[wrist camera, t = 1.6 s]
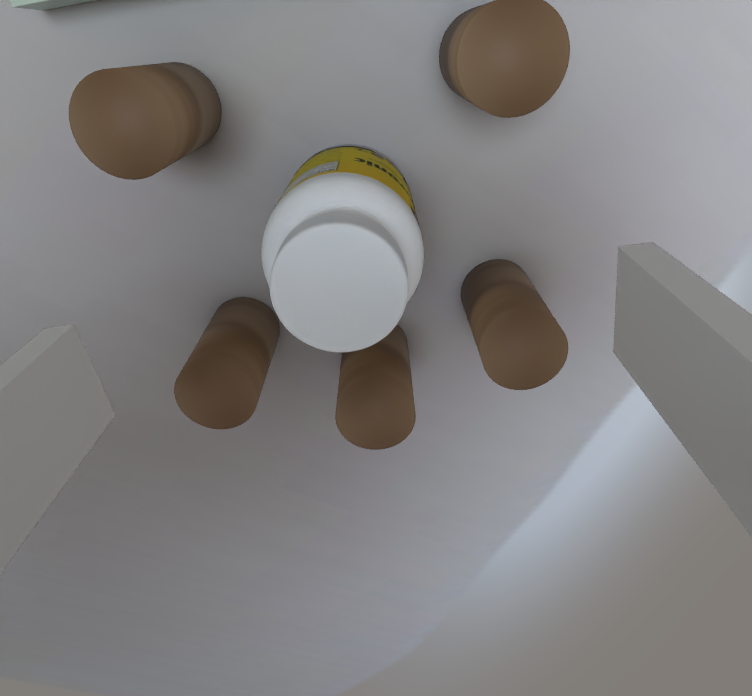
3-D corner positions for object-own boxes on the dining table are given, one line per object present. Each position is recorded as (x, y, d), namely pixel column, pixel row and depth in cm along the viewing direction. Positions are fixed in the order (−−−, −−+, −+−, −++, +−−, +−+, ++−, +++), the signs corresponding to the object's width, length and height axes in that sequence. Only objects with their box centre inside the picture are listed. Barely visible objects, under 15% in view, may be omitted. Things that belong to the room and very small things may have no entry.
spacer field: (234, 393, 29) (203, 471, 24) (128, 69, 22) (51, 78, 17) (531, 353, 28) (567, 425, 23) (520, -1, 21) (569, -16, 16)
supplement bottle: (434, 228, 25) (465, 325, 17) (331, 285, 26) (310, 403, 18) (372, 115, 23) (371, 158, 14) (263, 184, 24) (201, 262, 16)
